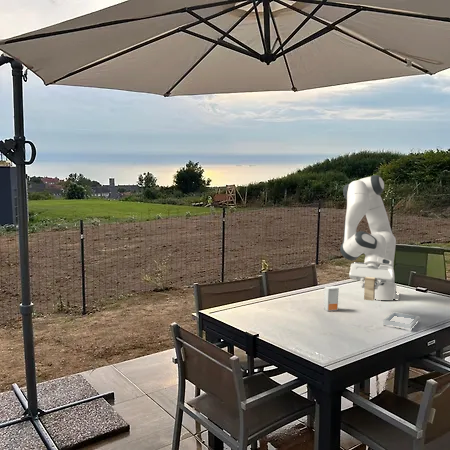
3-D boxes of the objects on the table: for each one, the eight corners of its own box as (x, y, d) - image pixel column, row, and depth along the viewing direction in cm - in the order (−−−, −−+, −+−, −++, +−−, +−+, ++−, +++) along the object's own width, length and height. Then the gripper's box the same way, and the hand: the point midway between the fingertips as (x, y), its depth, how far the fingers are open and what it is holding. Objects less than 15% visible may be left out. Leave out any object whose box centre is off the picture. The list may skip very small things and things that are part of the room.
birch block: (365, 297, 197) (366, 276, 196) (374, 298, 196) (375, 277, 195) (364, 299, 194) (364, 278, 193) (373, 300, 192) (373, 279, 191)
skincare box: (327, 311, 214) (328, 288, 213) (323, 309, 219) (324, 286, 217) (338, 310, 216) (338, 287, 215) (333, 308, 220) (334, 285, 219)
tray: (393, 317, 206) (393, 311, 206) (419, 322, 199) (419, 316, 199) (383, 325, 194) (383, 319, 193) (410, 331, 187) (411, 325, 186)
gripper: (350, 258, 204) (345, 281, 196) (395, 261, 194) (392, 286, 187) (352, 265, 208) (347, 289, 201) (396, 269, 199) (393, 294, 191)
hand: (369, 288), depth 194 cm, fingers closed on birch block, 4 cm apart
